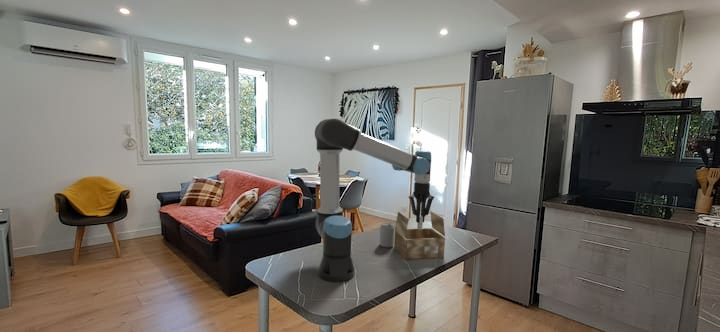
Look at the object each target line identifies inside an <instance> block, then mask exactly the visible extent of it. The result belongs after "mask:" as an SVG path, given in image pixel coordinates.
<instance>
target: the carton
mask: <svg viewBox="0 0 720 332" xmlns="http://www.w3.org/2000/svg"><path fill="white" fill-rule="evenodd" d="M445 245H446V238H445V236H443V235H442V234H441V233H439V232H438V231H436V230H435V229H433V228H432V227H431V228H430V227H428V228H427V227H425V228H424V227H422V230H419V229H418V228H407V230H406V235H405V238H404V237H403V236H402V235H401V234H400V233H399V232H398V231H396V230H395V229H394V245H393V246H394V250H395V251H396V252H397V253H398V254H399V255H400V256H401V258H402V259H403V260H404V261H411V260H412V261H414V260H432V259H444V258H445Z"/></svg>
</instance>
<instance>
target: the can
mask: <svg viewBox="0 0 720 332" xmlns="http://www.w3.org/2000/svg"><path fill="white" fill-rule="evenodd" d="M394 242H395V226H394V223H392V222H387V221H386V222H381V225H380V226H379V245H380V247H382V248H392V247H393V246H394Z"/></svg>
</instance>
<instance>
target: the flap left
mask: <svg viewBox="0 0 720 332" xmlns="http://www.w3.org/2000/svg"><path fill="white" fill-rule="evenodd" d="M409 220H410V219H409V218H408V217H407V216H406V215H404V214H403V213H401V211H398V212H397V216H396V220H395V221H396V222H395V224H394V225H395V226H394V231H395V230H396V231H398V232H399V233H400V234H401V235H402V236H403V237H404V238H405V235H406V230H407V229H408V224H409Z"/></svg>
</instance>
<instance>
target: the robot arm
mask: <svg viewBox="0 0 720 332" xmlns="http://www.w3.org/2000/svg"><path fill="white" fill-rule="evenodd" d="M314 137H315V140H316V151H317V152H318V153H319V160H320V161H319V162H320V166H319V169H320V170H319V171H320V174H319V176H320V177H319V178H320V180H319V181H320V184H319V185H320V187H319V188H320V194H319V195H320V196H319V197H320V199H319V201H320V206H319V207H318V208H317V209H316V216H317V217H316V218H315V225H314V226H315V229H316V231H317V233H318V235H319V236H320V237H321V239H322V241H323V242H322V243H323V246H322V249H323V250H322V258H321V260H320V264H319V267H318V274H319V275H318V276H319V277H320V279H322V280H324V281H327V282H334V283H335V282H338V283H339V282H344V281H348V280H351V279H353V278H354V276H355V266H354V263H353V258H352V232H353V225H352V221H351V220H350V219H349V217H346V216H344V215H343V214H344V209H343V208H342V207H341V206H340V154H341V152H343V150H346V151H347V150H348V151H350V152H351V151H353V150H354V151H356V152H360V153H362V154H364V155H367V156H370V157H372V158H375V159H377V160H380V161H382V162H385V163H387V164H390V165H391V167H392V169H393V170H394V171H405V172H408V173H411V174H414V185H413V186H414V187H413V191H412V194H411V195H409V196H408V199H409V200H410V205H411V206H410V207H411V211H412V214H413V215H414V216H415V218H416V219H415V222H416V223H417V227H416V229H419V230H422V228H423V223H425V217H426V216H428V215H430V211H431V207H432V204H433V203H432V202H433V200H434V199H435V196H434V195H432V194H431V193H430V190H431V189H430V187H431V184H430V181H431V170H432V167H431V166H432V153H431V151H429V150H416V151H415V154H413V153H411V152H409V151H407V150H403V149H402V148H399V147H396V146H394V145H392V144H389V143H387V142H385V141H382V140H380V139H378V138H375V137H372V136H370V135H367V134H365V133H363V132H361V130H360V129H359V128H357V127H355V126H353V125H350V124H349V123H347V122H345V121H343V120H341V119H339V118H326V119H322V120H321V121H319V123H318V124H317V125H316V126H315V129H314ZM414 199H415V200H414Z"/></svg>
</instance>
